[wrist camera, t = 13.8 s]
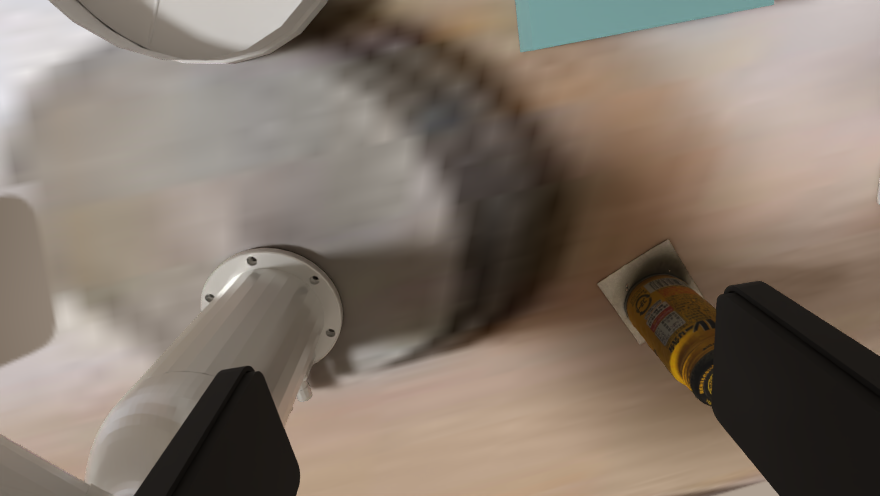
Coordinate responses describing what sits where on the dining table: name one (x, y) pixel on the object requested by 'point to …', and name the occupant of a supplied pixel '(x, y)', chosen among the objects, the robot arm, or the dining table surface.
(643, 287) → the condiment
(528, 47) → the dock
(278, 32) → the dish
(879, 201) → the supplement box
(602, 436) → the dining table surface
